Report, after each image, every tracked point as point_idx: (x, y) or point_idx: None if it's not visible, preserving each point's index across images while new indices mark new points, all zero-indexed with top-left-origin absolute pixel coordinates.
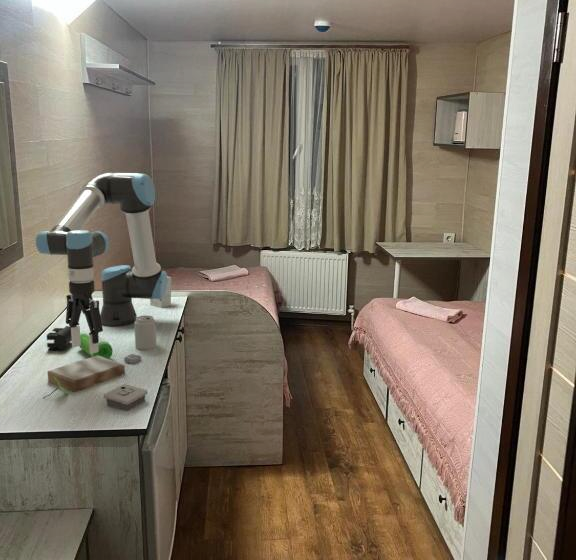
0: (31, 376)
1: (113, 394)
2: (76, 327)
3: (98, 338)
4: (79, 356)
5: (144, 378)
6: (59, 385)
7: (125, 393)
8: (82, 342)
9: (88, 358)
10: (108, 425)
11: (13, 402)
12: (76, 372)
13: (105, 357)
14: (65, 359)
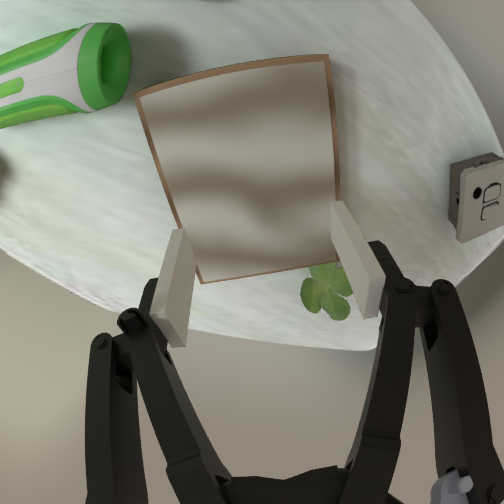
0: (141, 278)
1: (477, 228)
2: (175, 327)
3: (391, 257)
4: (37, 126)
5: (389, 31)
6: (318, 285)
7: (498, 212)
8: (1, 127)
9: (156, 143)
10: (483, 249)
11: (276, 333)
12: (279, 232)
13: (121, 54)
14: (46, 171)
